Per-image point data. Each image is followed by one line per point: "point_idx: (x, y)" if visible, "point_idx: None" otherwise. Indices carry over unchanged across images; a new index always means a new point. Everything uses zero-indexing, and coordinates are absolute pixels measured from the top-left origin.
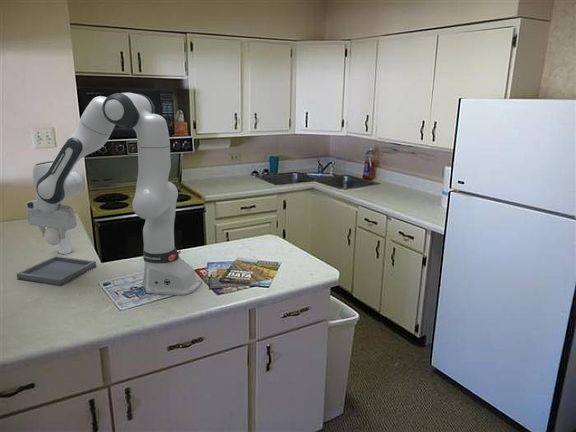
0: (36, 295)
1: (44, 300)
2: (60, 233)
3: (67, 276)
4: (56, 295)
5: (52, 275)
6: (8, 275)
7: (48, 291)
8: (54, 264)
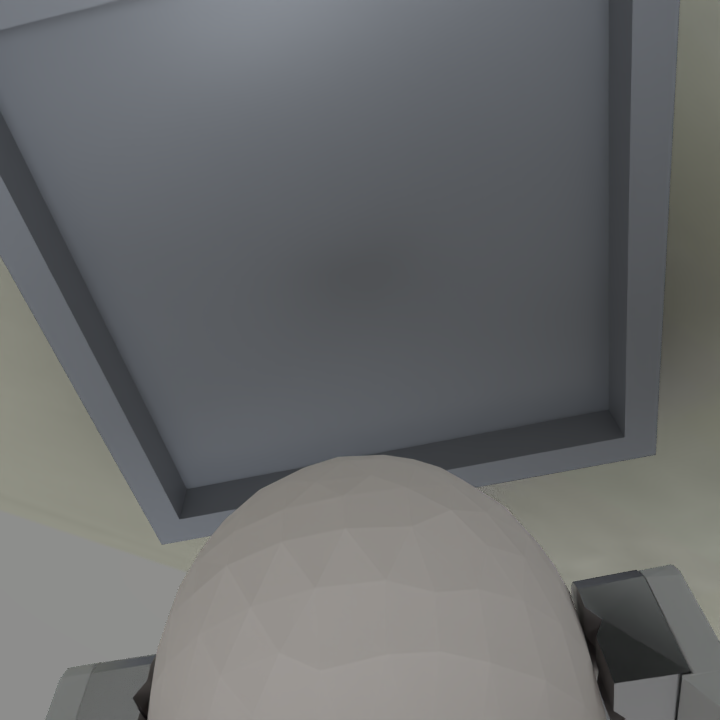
0: (573, 560)
1: (685, 570)
2: (605, 717)
3: (657, 373)
4: (713, 506)
5: (399, 353)
6: (15, 493)
7: (604, 499)
8: (98, 147)
